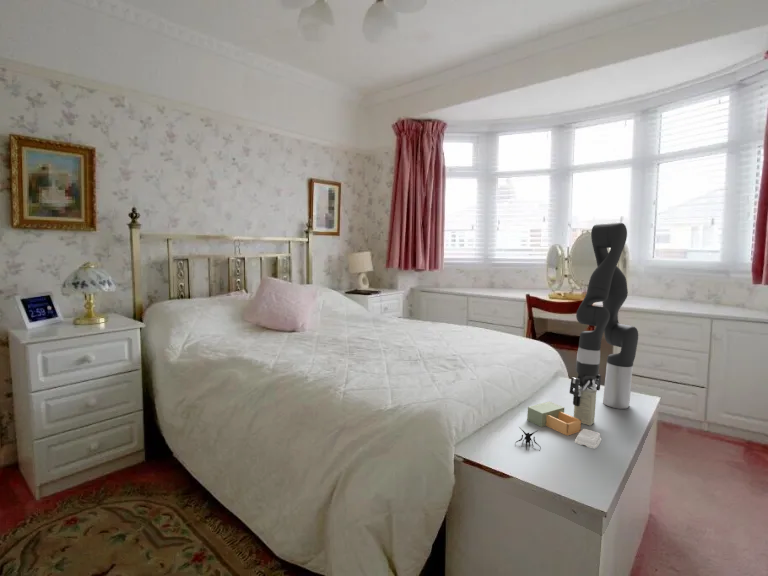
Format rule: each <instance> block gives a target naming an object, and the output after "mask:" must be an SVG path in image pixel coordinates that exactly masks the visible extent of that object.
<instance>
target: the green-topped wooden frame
mask: <svg viewBox="0 0 768 576" xmlns="http://www.w3.org/2000/svg"><path fill="white" fill-rule="evenodd" d="M526 417H527V418H526V421H528V422H530V423H532V424H534V425H536V426H539V427H540V428H543V427H548V428H550V429H553V430H554V431H557V432H558V433H561V434H562V435H565V436H567V437H568V436H570V435H574V434H577V433H580V431H581V429H582V423H581V420H579V419H577V418H575V417H574V416H572V415H570V414H567V413H565V407H564V406H562V405H559V404H557V403H555V402H552V401H545V402H543V403H539V404H535V405H530V406H528V407H527V415H526Z"/></svg>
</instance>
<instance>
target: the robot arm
mask: <svg viewBox="0 0 768 576" xmlns="http://www.w3.org/2000/svg"><path fill="white" fill-rule="evenodd" d="M590 232H591V233H590V235H591V238H590V239H591V244H592V245H591V246H592V249H593V252H594V257H595V261H596V266H597V267H596V268H595V270H594V271H593V272H592V273H591V275H590V278H589V281H588V287H587V291H586V294H585V296H584V298H583V300H582V302H581V303H580V304H579V307H578V309H576V315H575V316H576V321H577V322H578V323H579V324H581V325H585V326H594V327H595V329H594V330H585V331H583V330H582V331H581V332H580V334H579V341H578V349H577V352H576V353H577V354H576V365H575V373H577V377H573V376H572V377H571V380H570V387H569V394H571V395H572V396H573V399H572V404H573V406H574V405H575V406H580V395H581V394H582V392H584V391H585V389H587V388H588V389H592V390H596V393H597V392H598V391H600V390H601V379H602V375H601V374H600V371H599V370H600V364H601V348H602V345H601V344H602V338H603V335H604V339H605V342H606V343H607V344H609V345H610V346H614V347H618V348H620V351H619V352H618V353H610V354H608V355H607V358H606V368H605V379H604V388H603V397H602V403H603V405H606V406H608V407H610V408H613V409H619V410H620V409H621V410H626V409H629V406H630V400H631V391H632V378H633V377H632V376H633V370H634V368H633V367H634V361H635V358H636V354H637V348H638V342H639V331H638V329H637V327H635V326H633V325H629V324H624V323H620V322H619V318H618V317H619V316H618V315H619V312H620V309H621V308H622V306H623V304H624V303H625V301H626V300H627V298H628V296H629V294H628V292H629V291H628V290H629V289H628V283H627V278H626V275H625V274H624V272H623V271H622V270H621V269H620V268H619V267H618V263H619V261H620V259H621V255H622V253H623V252H624V251H623V250H624V248H625V245H626V242H627V237H628V230H627V226H626V225H625V224H624V222H604V223H595V224H594V225H593V226H592V229H591V231H590ZM609 248H610V249H609ZM608 249H609V251H608ZM601 302H602V306H598V305H593V304H596V303H601ZM596 384H597V385H596ZM580 387H581V388H580ZM578 390H579V392H578Z"/></svg>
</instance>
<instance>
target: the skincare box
mask: <svg viewBox="0 0 768 576" xmlns="http://www.w3.org/2000/svg"><path fill="white" fill-rule="evenodd" d="M579 387H580V386H579ZM580 388H581V387H580ZM578 392H579V390H578ZM596 400H597V392H596V390H592V389H588V388H587V389H585V391H584V392H582V394H581V395H580V406H575V405H573V406H574V408H573V417H575V418H577V419H579V420H581V424H584V425H587V426H592V424H594V423H595V417H596V405H597V404H596V403H597V402H596Z"/></svg>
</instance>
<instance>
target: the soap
mask: <svg viewBox="0 0 768 576" xmlns="http://www.w3.org/2000/svg"><path fill="white" fill-rule="evenodd" d="M601 442H602V437H601V433H599V432H597V431H594V430H591V429H586V428H583V429H582V430H580V432H578V434H577V436H576V438H575V440H574V443H575V444H578V445H580V446H585V447H587V448H590V449H597V448H598V447H599V446H600V444H601Z"/></svg>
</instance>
